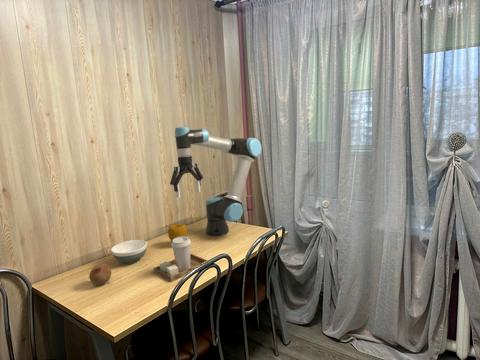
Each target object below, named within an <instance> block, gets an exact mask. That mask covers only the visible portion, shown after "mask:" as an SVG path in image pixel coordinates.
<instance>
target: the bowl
mask: <svg viewBox="0 0 480 360" xmlns="http://www.w3.org/2000/svg"><path fill="white" fill-rule="evenodd" d="M147 246H148V242H147V241H146V240H143V239H130V240H126V241H121V242H119V243H117V244H115V245H113V246H112V247H111V249H110V252H111V253H112V256H113V258H114V259H115V261H118V262H120V263H123V264H126V265H127V264H128V265H129V264H133V263H137V262H138V261H140V260H141V259H142V258H143V257H144V256H145V254H146V252H147Z"/></svg>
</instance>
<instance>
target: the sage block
mask: <svg viewBox="0 0 480 360" xmlns="http://www.w3.org/2000/svg"><path fill="white" fill-rule="evenodd" d="M159 266H160V270H161V271H163V272H165V273H166V274H167V267H169V266H172V264H171V263H169V261H164V262H162V263H160V264H159Z"/></svg>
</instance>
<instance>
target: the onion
mask: <svg viewBox="0 0 480 360" xmlns="http://www.w3.org/2000/svg"><path fill="white" fill-rule="evenodd" d="M88 277H89V281H90V282H91V283H92V284H93V285H95V286H103V285H105V284H106V283H107V282H108V281H109V280H110V279H111V277H112V269H111V268H110V266H108V265H107V264H98V265H95V266H94V267H93V268H92V269H91V271H90V272H89V276H88Z"/></svg>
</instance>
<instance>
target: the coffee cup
mask: <svg viewBox="0 0 480 360" xmlns="http://www.w3.org/2000/svg"><path fill="white" fill-rule="evenodd" d="M191 243H192V241H191V239H190V238H189V237H188V236H187V237H177V238H175V239H173V241H171V247H172V250H173V256H174V259H175V261H176V266H177V267H178V271H185V270H187V269H190V253H191Z"/></svg>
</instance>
